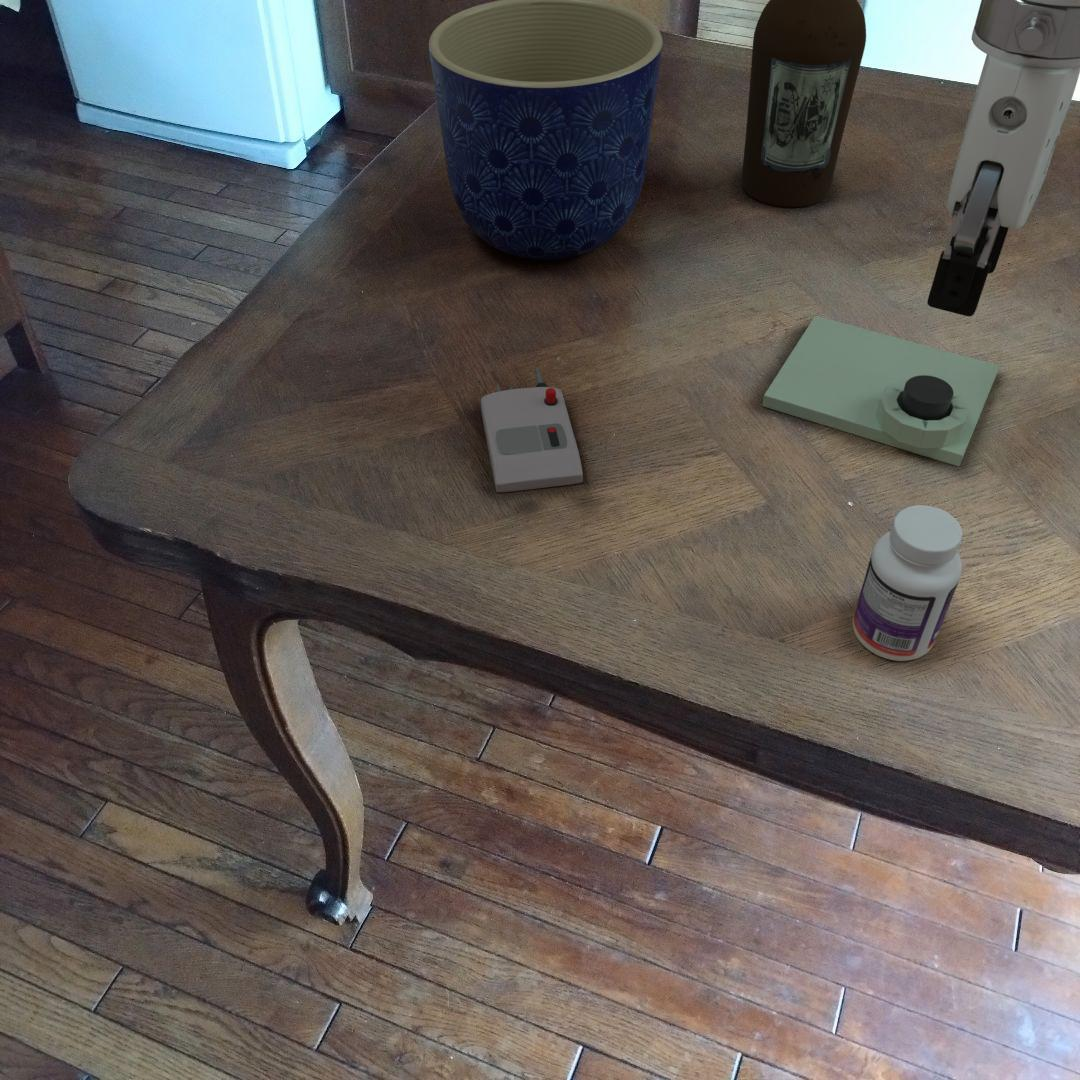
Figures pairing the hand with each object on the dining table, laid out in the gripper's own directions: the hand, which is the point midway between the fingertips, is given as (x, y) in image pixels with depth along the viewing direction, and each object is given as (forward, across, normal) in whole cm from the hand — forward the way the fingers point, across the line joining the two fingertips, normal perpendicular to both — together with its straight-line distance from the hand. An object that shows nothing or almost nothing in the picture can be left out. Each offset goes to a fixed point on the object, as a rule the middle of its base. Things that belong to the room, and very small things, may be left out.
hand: (961, 285), depth 75 cm
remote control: (+14, -15, +27) cm, 34 cm away
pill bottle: (+14, -21, -4) cm, 25 cm away
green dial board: (+13, +4, +4) cm, 15 cm away
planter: (+14, +14, +41) cm, 45 cm away
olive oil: (+14, +34, +23) cm, 43 cm away
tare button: (+11, 0, 0) cm, 11 cm away
